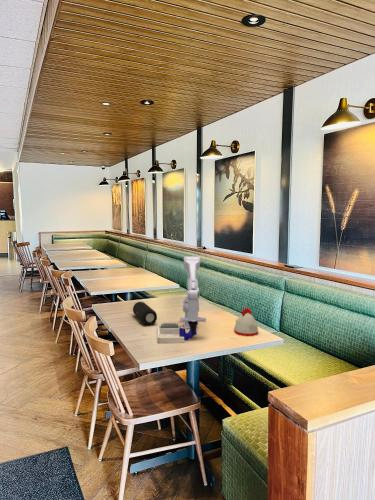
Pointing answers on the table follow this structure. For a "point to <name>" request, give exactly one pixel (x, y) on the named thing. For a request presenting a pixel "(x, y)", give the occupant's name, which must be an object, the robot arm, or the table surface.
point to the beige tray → (169, 339)
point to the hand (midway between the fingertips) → (192, 334)
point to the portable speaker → (145, 313)
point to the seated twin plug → (169, 325)
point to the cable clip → (186, 335)
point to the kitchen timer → (246, 324)
